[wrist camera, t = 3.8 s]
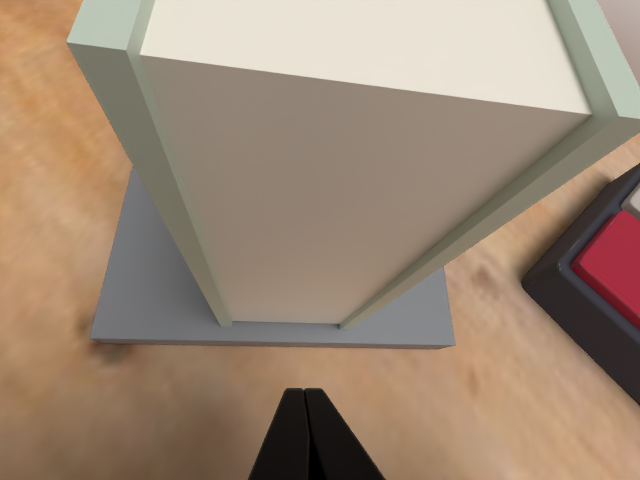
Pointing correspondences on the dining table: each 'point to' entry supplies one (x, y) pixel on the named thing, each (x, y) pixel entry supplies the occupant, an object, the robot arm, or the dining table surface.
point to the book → (349, 133)
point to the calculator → (598, 281)
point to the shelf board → (204, 329)
